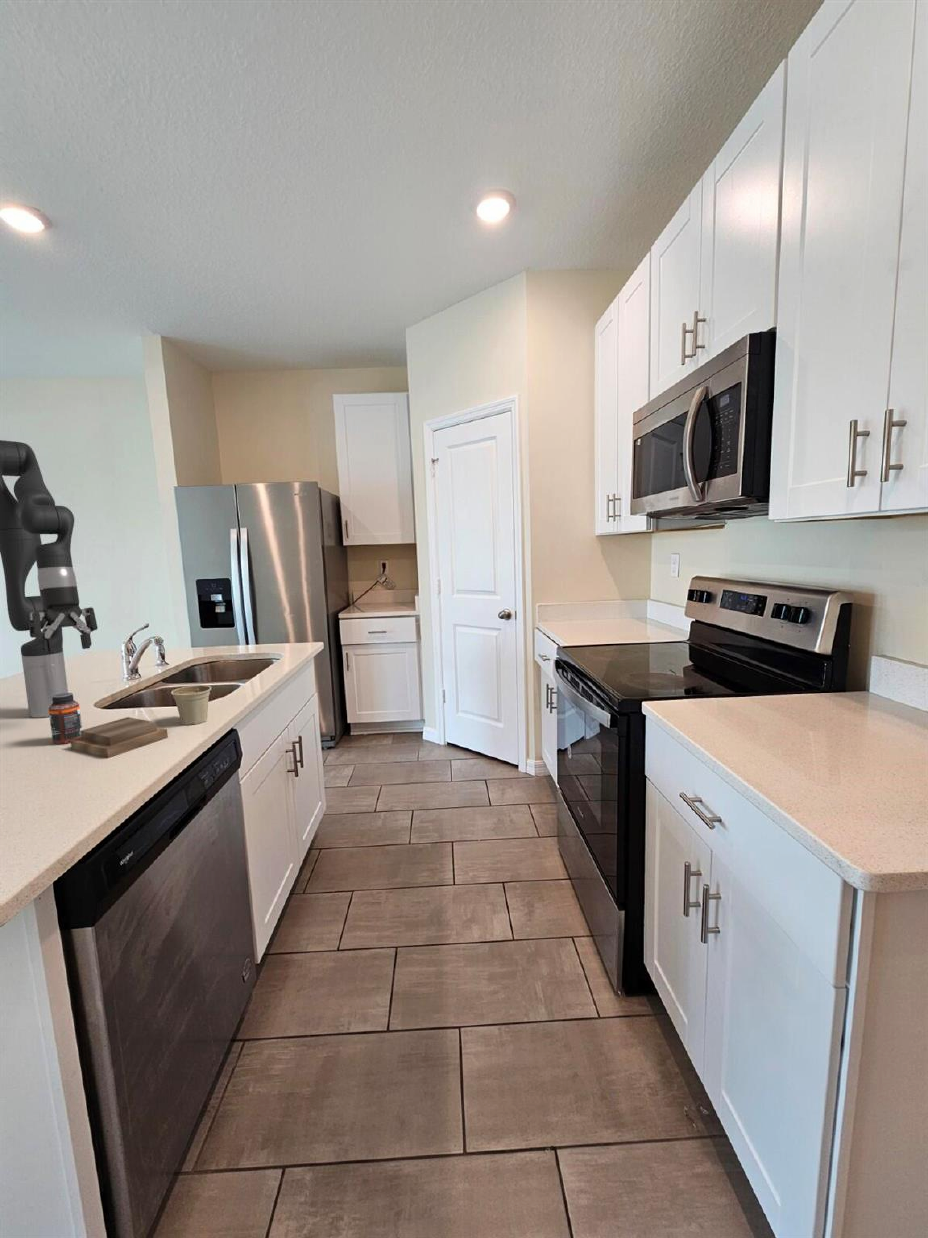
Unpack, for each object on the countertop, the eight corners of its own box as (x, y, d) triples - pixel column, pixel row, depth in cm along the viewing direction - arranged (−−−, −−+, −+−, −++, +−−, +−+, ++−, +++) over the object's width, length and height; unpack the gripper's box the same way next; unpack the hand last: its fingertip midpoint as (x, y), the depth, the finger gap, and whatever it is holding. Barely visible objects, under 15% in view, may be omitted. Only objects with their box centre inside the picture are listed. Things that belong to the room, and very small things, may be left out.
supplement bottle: (89, 736, 133) (84, 691, 131) (69, 745, 127) (63, 698, 125) (67, 736, 133) (61, 691, 132) (46, 744, 127) (40, 698, 126)
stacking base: (71, 748, 124) (69, 732, 124) (131, 730, 137) (130, 714, 136) (108, 758, 118) (106, 740, 117) (167, 737, 130) (166, 721, 130)
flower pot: (203, 727, 138) (200, 694, 137) (166, 727, 138) (163, 694, 137) (220, 716, 147) (217, 685, 146) (186, 716, 147) (183, 685, 146)
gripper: (79, 586, 142) (88, 647, 143) (16, 589, 129) (27, 656, 130) (97, 583, 138) (106, 646, 139) (34, 586, 125) (45, 655, 127)
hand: (68, 651), depth 135 cm, fingers open, 8 cm apart
